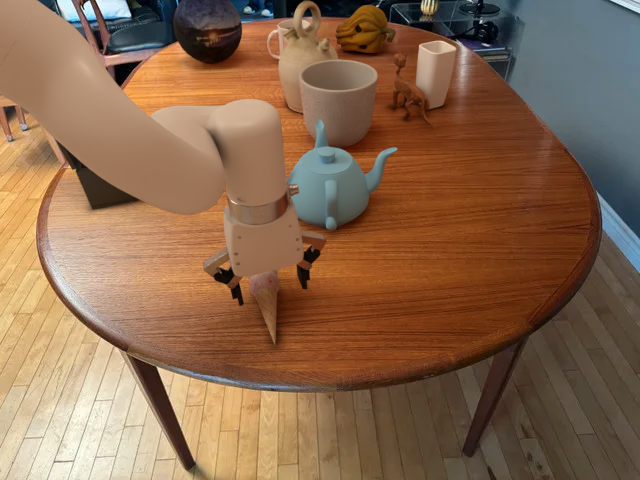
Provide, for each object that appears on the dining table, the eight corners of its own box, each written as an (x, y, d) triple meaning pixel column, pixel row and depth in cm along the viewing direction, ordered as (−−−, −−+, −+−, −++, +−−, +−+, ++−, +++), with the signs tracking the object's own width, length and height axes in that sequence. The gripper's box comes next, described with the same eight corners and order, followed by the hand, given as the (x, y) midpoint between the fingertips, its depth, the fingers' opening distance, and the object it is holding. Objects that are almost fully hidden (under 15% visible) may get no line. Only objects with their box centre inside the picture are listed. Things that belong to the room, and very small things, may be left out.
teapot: (317, 169, 100) (316, 116, 92) (392, 199, 91) (398, 144, 83) (263, 209, 90) (256, 154, 82) (342, 248, 81) (343, 190, 73)
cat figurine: (444, 128, 112) (454, 72, 103) (422, 134, 110) (430, 78, 101) (401, 99, 124) (407, 46, 115) (380, 104, 122) (384, 51, 113)
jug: (271, 99, 125) (262, -2, 108) (321, 86, 131) (319, -12, 114) (298, 123, 115) (292, 15, 98) (350, 108, 121) (353, 3, 104)
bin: (149, 153, 106) (138, 118, 100) (153, 197, 93) (141, 160, 87) (95, 163, 103) (81, 127, 97) (92, 209, 91) (75, 171, 85)
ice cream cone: (297, 345, 68) (279, 259, 76) (281, 336, 64) (265, 247, 72) (269, 356, 69) (255, 271, 77) (252, 348, 65) (239, 259, 73)
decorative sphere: (259, 58, 148) (251, -12, 134) (211, 79, 136) (198, 5, 123) (216, 45, 157) (205, -22, 144) (168, 63, 145) (151, -7, 132)
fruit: (353, 45, 160) (409, 33, 150) (337, 68, 151) (396, 57, 141) (340, 4, 151) (399, -11, 142) (323, 26, 142) (385, 11, 132)
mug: (301, 70, 139) (299, 32, 132) (266, 64, 143) (263, 27, 136) (316, 58, 146) (315, 21, 139) (283, 53, 150) (280, 16, 143)
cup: (449, 107, 120) (459, 49, 110) (425, 113, 118) (434, 54, 108) (432, 96, 125) (440, 39, 115) (409, 102, 123) (416, 44, 113)
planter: (383, 151, 105) (388, 86, 94) (309, 161, 102) (306, 95, 92) (362, 117, 117) (365, 56, 107) (296, 124, 115) (292, 63, 104)
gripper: (315, 171, 63) (319, 261, 74) (185, 197, 59) (210, 287, 71) (333, 203, 58) (334, 294, 69) (192, 233, 54) (217, 325, 65)
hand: (271, 290), depth 70 cm, fingers open, 9 cm apart
